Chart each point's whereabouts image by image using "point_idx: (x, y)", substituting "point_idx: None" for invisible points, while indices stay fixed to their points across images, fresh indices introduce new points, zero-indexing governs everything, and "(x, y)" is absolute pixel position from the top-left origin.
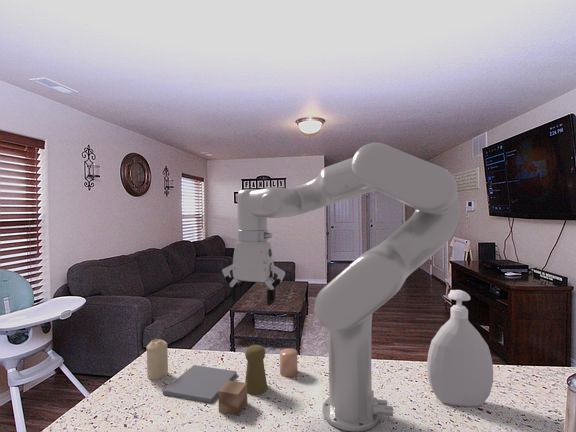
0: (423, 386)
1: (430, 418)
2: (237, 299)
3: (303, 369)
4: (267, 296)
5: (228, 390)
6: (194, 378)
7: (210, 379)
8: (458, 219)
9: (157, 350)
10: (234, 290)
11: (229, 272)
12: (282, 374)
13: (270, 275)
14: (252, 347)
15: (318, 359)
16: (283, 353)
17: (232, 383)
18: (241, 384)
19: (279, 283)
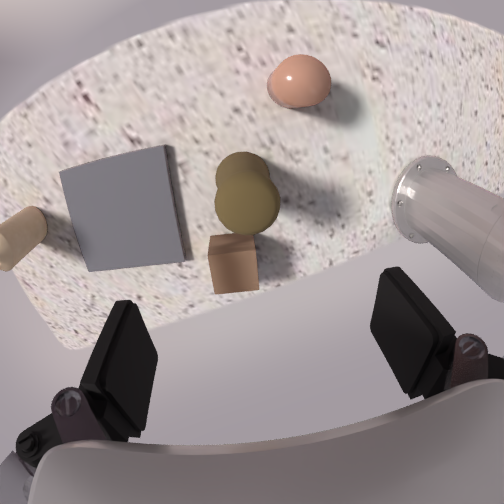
0: (497, 104)
1: (494, 180)
2: (146, 340)
3: None
4: (391, 364)
5: (233, 286)
6: (100, 216)
7: (132, 205)
8: None
9: (14, 263)
10: (142, 418)
11: (25, 484)
12: (281, 105)
13: (497, 393)
14: (242, 216)
15: (336, 10)
16: (292, 92)
17: (225, 263)
18: (246, 259)
19: (500, 365)
